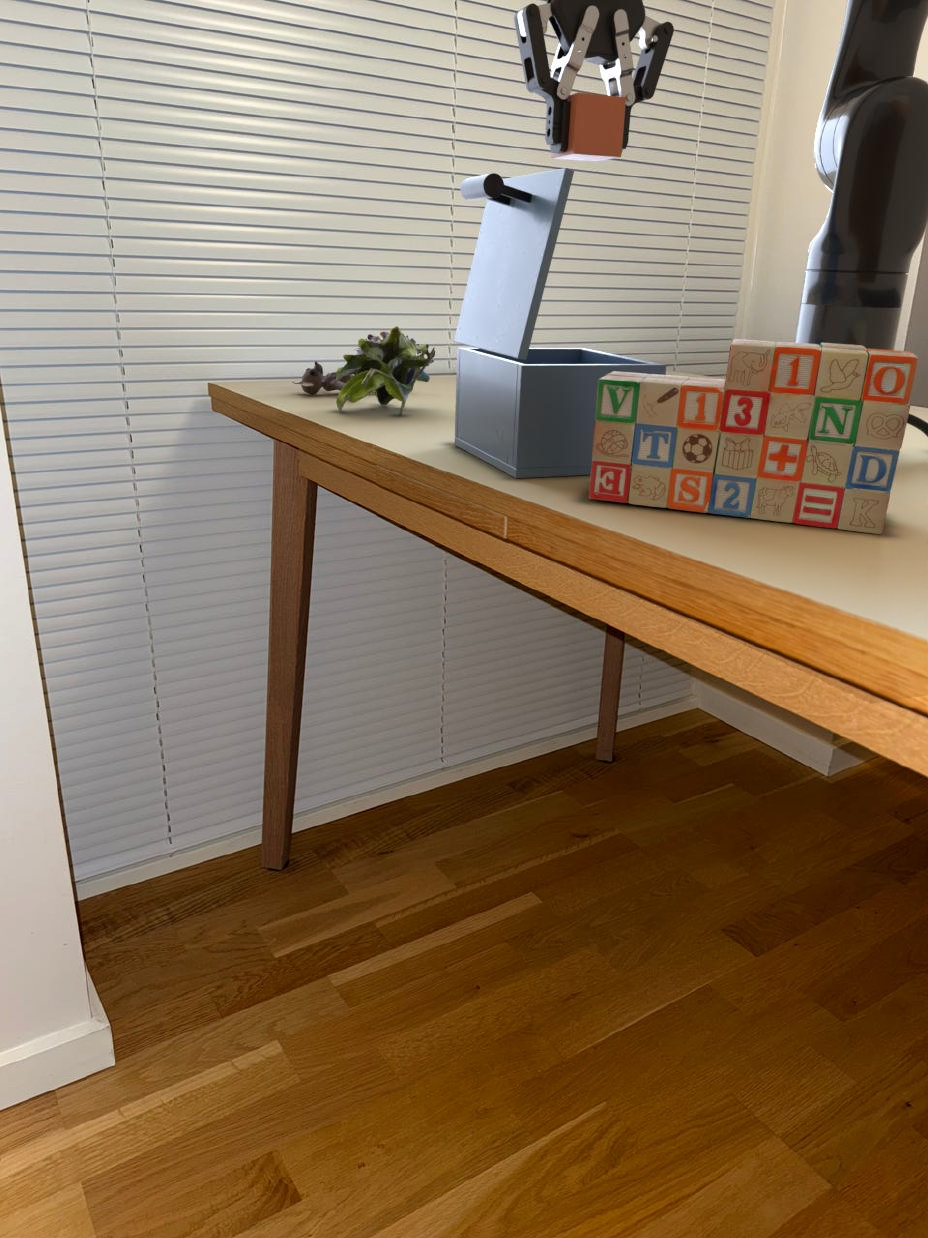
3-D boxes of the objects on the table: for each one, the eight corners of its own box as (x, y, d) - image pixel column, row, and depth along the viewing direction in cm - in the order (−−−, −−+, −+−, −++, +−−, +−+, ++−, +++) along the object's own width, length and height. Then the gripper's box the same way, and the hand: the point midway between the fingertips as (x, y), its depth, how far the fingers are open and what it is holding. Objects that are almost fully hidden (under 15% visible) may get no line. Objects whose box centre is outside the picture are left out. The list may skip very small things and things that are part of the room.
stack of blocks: (586, 501, 72) (599, 335, 67) (601, 485, 77) (615, 330, 73) (884, 534, 66) (921, 353, 61) (878, 514, 71) (911, 347, 67)
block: (596, 161, 83) (601, 104, 81) (621, 157, 79) (626, 96, 77) (550, 158, 81) (554, 99, 79) (573, 153, 77) (577, 91, 76)
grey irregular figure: (427, 376, 120) (321, 366, 113) (424, 409, 121) (318, 402, 114) (373, 361, 135) (276, 352, 128) (371, 391, 136) (274, 384, 129)
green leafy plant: (382, 449, 117) (426, 367, 118) (420, 448, 108) (467, 359, 109) (308, 399, 112) (354, 314, 113) (341, 394, 102) (391, 301, 103)
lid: (498, 183, 85) (446, 165, 83) (574, 170, 72) (514, 149, 69) (461, 343, 89) (410, 330, 87) (526, 360, 76) (468, 345, 73)
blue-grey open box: (577, 440, 97) (584, 348, 94) (655, 471, 83) (666, 364, 80) (454, 444, 92) (457, 347, 89) (515, 478, 79) (521, 365, 76)
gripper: (539, -117, 68) (527, 144, 74) (706, -87, 73) (681, 156, 79) (501, -85, 75) (492, 153, 81) (656, -59, 79) (637, 163, 85)
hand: (586, 153), depth 80 cm, fingers closed on block, 4 cm apart
